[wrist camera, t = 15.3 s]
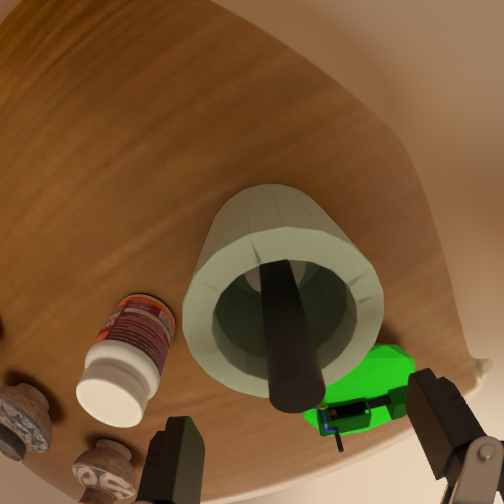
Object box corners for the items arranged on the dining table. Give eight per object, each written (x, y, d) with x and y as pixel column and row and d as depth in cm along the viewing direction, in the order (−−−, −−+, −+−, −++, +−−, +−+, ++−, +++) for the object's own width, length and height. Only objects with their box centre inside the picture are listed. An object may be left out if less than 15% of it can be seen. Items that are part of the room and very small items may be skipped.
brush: (238, 228, 26) (226, 365, 11) (293, 217, 25) (353, 340, 10) (250, 277, 27) (253, 436, 12) (301, 267, 27) (354, 417, 12)
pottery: (128, 472, 41) (114, 529, 30) (0, 389, 35) (-34, 439, 24) (159, 452, 38) (144, 521, 27) (9, 353, 32) (-36, 411, 21)
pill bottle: (120, 283, 28) (66, 360, 17) (183, 304, 29) (154, 392, 18) (113, 333, 30) (70, 413, 19) (170, 353, 31) (144, 440, 20)
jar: (195, 198, 25) (154, 254, 14) (321, 172, 25) (379, 208, 13) (225, 308, 29) (214, 408, 18) (336, 286, 28) (382, 376, 17)
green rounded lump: (298, 408, 34) (310, 487, 24) (291, 329, 30) (309, 418, 19) (394, 388, 34) (426, 457, 23) (407, 308, 29) (460, 379, 19)
